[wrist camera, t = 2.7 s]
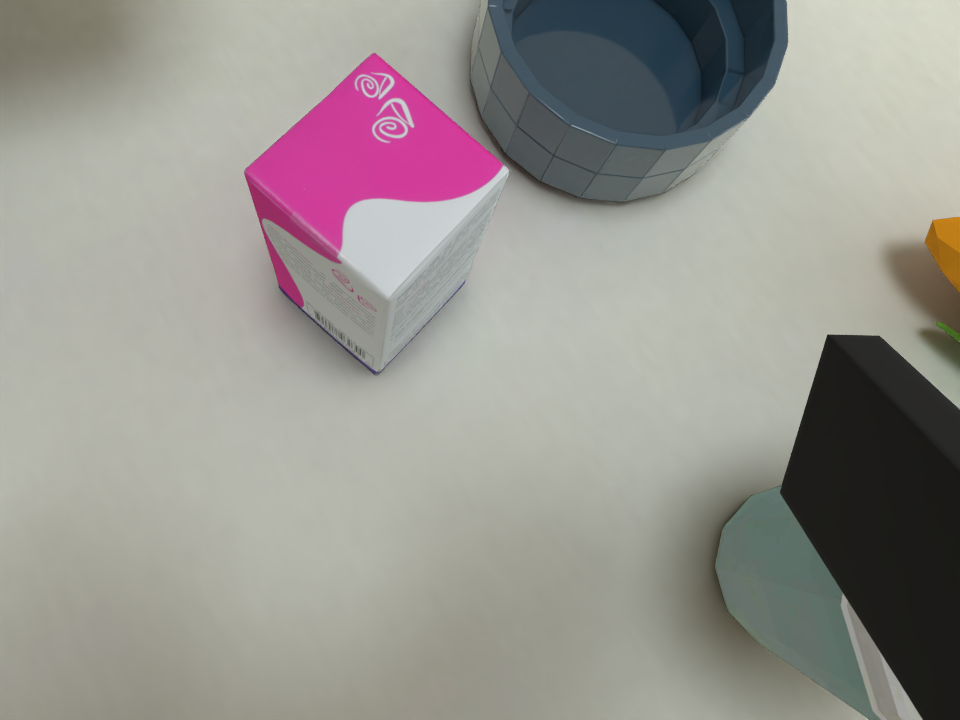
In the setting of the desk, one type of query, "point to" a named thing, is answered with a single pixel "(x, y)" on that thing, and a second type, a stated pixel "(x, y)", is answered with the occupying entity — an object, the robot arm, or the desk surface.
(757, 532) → the disposable coffee cup
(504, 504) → the desk surface
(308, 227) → the supplement box
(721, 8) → the bowl
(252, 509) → the desk surface
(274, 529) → the desk surface
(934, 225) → the corn
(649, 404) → the desk surface
